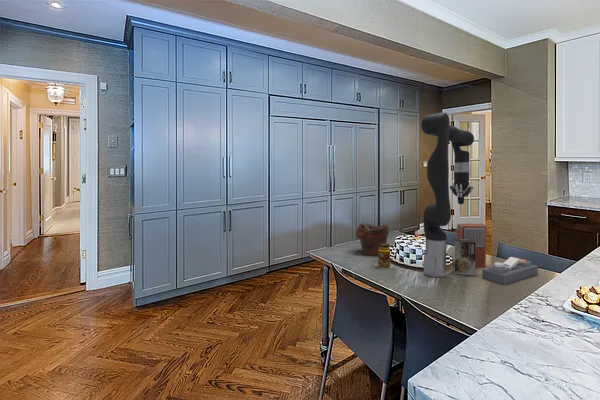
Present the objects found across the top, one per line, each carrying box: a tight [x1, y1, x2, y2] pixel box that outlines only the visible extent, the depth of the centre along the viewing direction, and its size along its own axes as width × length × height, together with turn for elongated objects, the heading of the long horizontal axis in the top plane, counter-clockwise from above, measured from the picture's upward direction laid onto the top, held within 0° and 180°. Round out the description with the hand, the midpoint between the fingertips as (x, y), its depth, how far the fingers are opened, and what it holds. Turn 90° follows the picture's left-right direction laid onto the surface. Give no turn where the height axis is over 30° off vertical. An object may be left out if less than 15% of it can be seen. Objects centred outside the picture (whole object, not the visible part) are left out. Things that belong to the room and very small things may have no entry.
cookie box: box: [453, 238, 477, 276], centre depth 161 cm, size 9×6×16 cm
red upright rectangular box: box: [454, 223, 488, 268], centre depth 172 cm, size 21×7×15 cm
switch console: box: [481, 260, 539, 285], centre depth 155 cm, size 26×10×6 cm, turn 118°
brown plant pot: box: [355, 223, 390, 256], centre depth 202 cm, size 18×20×18 cm
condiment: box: [373, 242, 394, 270], centre depth 176 cm, size 7×8×12 cm
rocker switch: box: [502, 256, 521, 270], centre depth 155 cm, size 8×4×2 cm, turn 116°
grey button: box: [493, 261, 504, 269], centre depth 151 cm, size 4×4×2 cm
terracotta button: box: [519, 258, 528, 263], centre depth 159 cm, size 4×4×2 cm
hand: (460, 204), depth 178 cm, fingers closed
